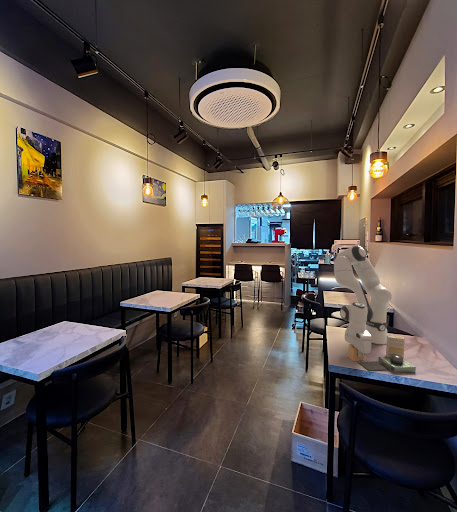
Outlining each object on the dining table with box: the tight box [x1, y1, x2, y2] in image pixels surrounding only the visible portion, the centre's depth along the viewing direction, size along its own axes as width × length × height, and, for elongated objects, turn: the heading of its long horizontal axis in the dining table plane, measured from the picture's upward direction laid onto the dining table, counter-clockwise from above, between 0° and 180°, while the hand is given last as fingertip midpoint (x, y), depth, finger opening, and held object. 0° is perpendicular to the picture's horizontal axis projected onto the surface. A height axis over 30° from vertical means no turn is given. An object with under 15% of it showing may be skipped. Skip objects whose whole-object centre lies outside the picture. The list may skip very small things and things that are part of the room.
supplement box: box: [385, 334, 406, 360], centre depth 146 cm, size 8×5×13 cm, turn 66°
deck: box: [377, 354, 417, 374], centre depth 136 cm, size 12×12×6 cm
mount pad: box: [357, 360, 389, 372], centre depth 136 cm, size 9×11×1 cm
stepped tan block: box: [348, 343, 364, 362], centre depth 144 cm, size 4×6×8 cm
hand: (356, 354), depth 144 cm, fingers closed on stepped tan block, 4 cm apart
